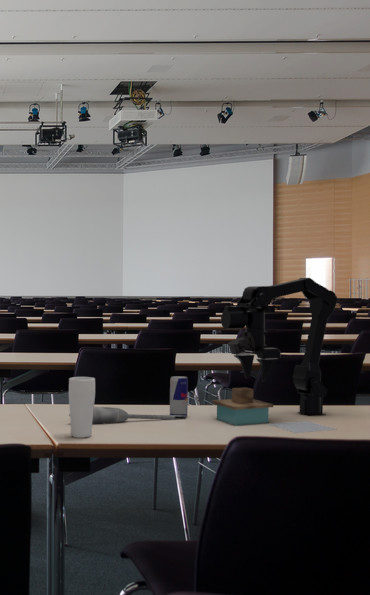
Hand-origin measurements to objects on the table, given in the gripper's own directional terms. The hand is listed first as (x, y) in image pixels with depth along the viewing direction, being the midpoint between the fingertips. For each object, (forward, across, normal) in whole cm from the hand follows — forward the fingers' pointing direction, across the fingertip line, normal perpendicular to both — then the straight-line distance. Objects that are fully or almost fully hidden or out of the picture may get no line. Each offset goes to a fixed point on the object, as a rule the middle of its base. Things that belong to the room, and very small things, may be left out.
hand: (255, 380), depth 215 cm
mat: (+12, +17, +4) cm, 21 cm away
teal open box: (+12, +3, -7) cm, 14 cm away
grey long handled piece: (+12, -14, -36) cm, 41 cm away
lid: (+7, +3, -6) cm, 10 cm away
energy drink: (+11, -12, -20) cm, 26 cm away
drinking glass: (+10, +5, -57) cm, 58 cm away
